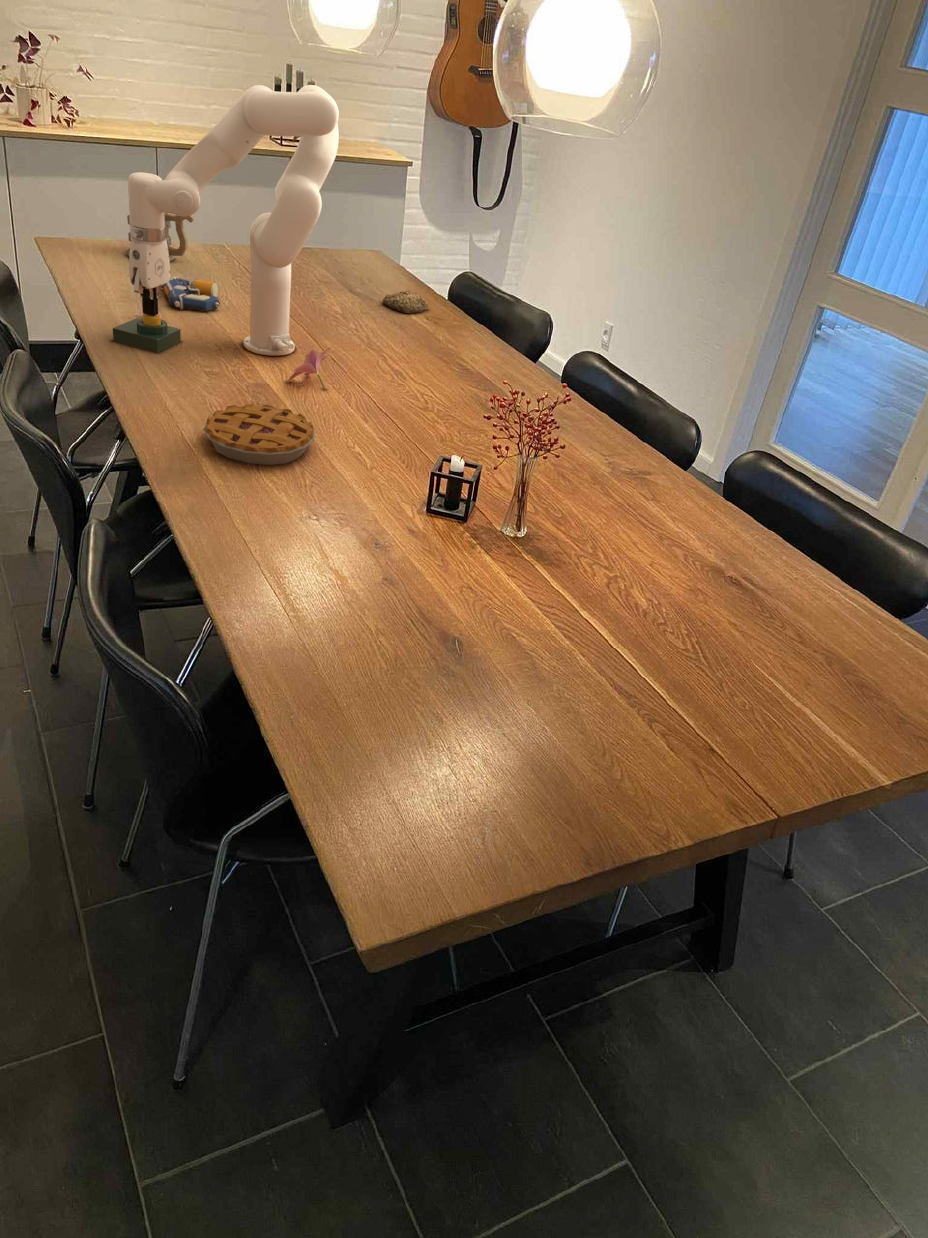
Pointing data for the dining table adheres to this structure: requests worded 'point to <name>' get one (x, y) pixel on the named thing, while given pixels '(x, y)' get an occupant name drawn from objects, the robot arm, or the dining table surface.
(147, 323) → the yellow push button
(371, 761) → the dining table surface
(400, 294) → the bread roll
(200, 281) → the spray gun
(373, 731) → the dining table surface
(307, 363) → the lily
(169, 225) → the tankard
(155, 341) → the button block
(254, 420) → the pie
